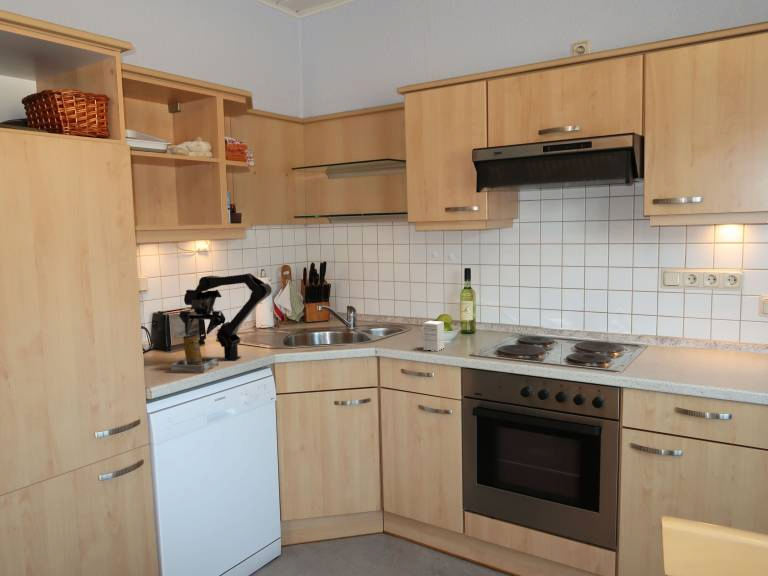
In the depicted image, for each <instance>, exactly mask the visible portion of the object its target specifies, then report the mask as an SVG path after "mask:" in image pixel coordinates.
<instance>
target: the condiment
mask: <svg viewBox="0 0 768 576" xmlns="http://www.w3.org/2000/svg"><path fill="white" fill-rule="evenodd" d="M182 338H183V349H184V354H185V358H186V361H187V365H193V364H198V363H203V362H202V358H203V357H202V352H201V347H200V342H199V340H198V336H197V334H190V335H184V336H183V337H182ZM206 362H207V361H206Z"/></svg>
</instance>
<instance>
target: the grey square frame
mask: <svg viewBox="0 0 768 576" xmlns="http://www.w3.org/2000/svg"><path fill="white" fill-rule="evenodd" d="M206 361H207V362H206ZM202 362H203V363H198V364H193V365H187V361H186V357H184V358H182V359H180V360H178V361H175V362H174V363H172V364H170V365H171V366H170V368H171V369H170V371H169V372H183V373H182V374H186V373H187V374H205V373H207V372H209V371H210V370H212V369H214V368H216V367H218V366H219V362H218V357H202ZM215 366H216V367H215ZM213 367H214V368H213ZM211 368H212V369H211Z"/></svg>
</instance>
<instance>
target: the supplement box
mask: <svg viewBox="0 0 768 576" xmlns="http://www.w3.org/2000/svg"><path fill="white" fill-rule="evenodd" d="M422 341H423V348H422V349H423V351H424V350H434V351H438V352H440V351H442V350H444V349H445V322H444V321H441V320H427V321H425V322H423V323H422ZM443 348H444V349H443ZM441 349H442V350H441ZM439 350H440V351H439ZM434 351H433V352H434Z"/></svg>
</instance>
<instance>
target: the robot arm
mask: <svg viewBox="0 0 768 576" xmlns="http://www.w3.org/2000/svg"><path fill="white" fill-rule="evenodd" d="M239 284H245V285H246V286H247V288H248V289H249V290H250V291H251V293H250V297H249V298H248V300H247V301H246V302H245V304H244V305H243V306H242V308H240V310H239V311H238V312H237V313H236V314H235V316H234V317H233V318H232V319H231V321H227V322H226V317H225V315H224V313H223V312H222V310H215V308H214V306H215V302H216V300H217V299H218V298H222V294H221V293H220V291H219V290H218V289H215V288H218V287H222V286H229V285H230V286H231V285H239ZM213 289H215V290H213ZM185 292H186V293H185V294H184V297H183V302H184V304H185V305H186V306H190V308H192V309H194V310H193V312H194V313H191V310H181V311H179V314H178V317H179V319H181V321H182V323H184V330H185V331H184V333H185V334H186V335H188V334H189V333H190V330H191V329H192V327H193V323H194V320H209V322H208V326H207V328H206V331H205V333H206V335H209V334H210V333H211V332H212V331H213V330H214V329H216V328H218V326H220V328H219V329H217V330H216V331H217V333H216V338H217V341H218V342H219V344H220V347H221V348H223V354H224V357H223V358H221V361H236V360H239V359H241V358H242V356H240V355H239V352H238V351H239V350H238V348H239V347H238V344H240V342H241V338H240V337H239V335H238V331H239V328H240V326H242V324H243V322H245V320H246V319H247V318H248V317H249V316H250V315H251V313H252V312H253V311H254V310H255V308H256V307H257V306H258V305H259V304H260V303H262V301H264V300H265V299H267V298H268V297H269V296H270V295H271V294H272V292H273V290H272V286H271V285H270V284H268V283H265V282H264V281H262V280H261V279H259V278H258V277H256V276H254V275H253V274H252V273H251V272H250V273H249V272H247V273H244V274H236V275H228V276H220V275H219V276H218V275H207V276H202V277H201V278H200V279H199V280H198V284H197V286H196V288H195V289H186V290H185Z"/></svg>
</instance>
